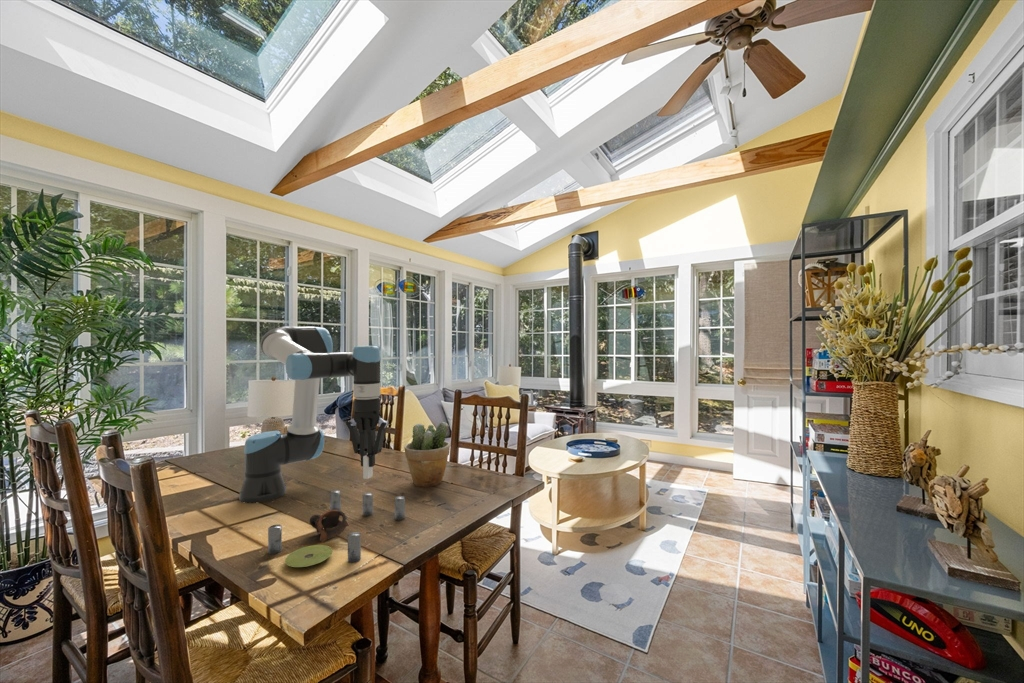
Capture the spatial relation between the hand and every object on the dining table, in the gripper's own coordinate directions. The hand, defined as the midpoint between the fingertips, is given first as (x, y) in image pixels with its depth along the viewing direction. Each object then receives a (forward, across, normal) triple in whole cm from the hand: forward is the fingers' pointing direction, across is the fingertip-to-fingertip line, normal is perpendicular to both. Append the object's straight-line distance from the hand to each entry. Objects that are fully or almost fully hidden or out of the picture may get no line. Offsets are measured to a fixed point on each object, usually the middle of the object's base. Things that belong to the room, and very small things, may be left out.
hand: (368, 477), depth 123 cm
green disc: (+18, -8, -16) cm, 25 cm away
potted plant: (+18, -1, +47) cm, 50 cm away
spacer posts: (+17, -12, 0) cm, 21 cm away
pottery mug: (+19, -13, 0) cm, 23 cm away
